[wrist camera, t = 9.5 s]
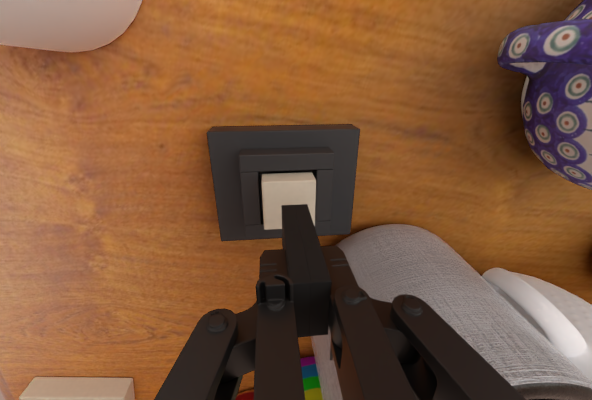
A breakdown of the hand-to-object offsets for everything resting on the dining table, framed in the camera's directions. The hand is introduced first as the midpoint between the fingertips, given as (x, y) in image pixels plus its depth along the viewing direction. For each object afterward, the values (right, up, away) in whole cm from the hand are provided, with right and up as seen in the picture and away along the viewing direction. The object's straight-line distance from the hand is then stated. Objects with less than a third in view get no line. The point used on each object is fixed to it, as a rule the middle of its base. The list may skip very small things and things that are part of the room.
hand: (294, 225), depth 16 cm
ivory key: (-1, +2, +4) cm, 4 cm away
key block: (-1, +3, +7) cm, 8 cm away
